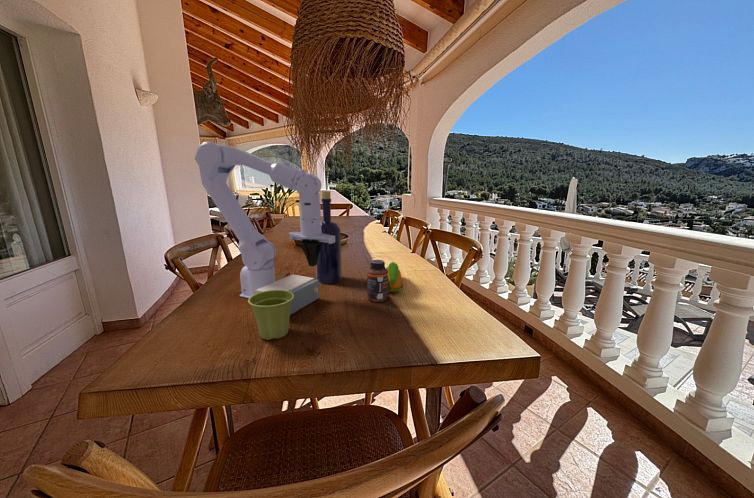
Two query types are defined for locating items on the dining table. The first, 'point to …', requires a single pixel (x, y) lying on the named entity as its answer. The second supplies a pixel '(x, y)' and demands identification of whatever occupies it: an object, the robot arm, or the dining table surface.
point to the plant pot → (272, 312)
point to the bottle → (329, 247)
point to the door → (304, 295)
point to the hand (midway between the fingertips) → (312, 265)
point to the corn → (394, 278)
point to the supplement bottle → (377, 281)
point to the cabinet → (287, 283)
